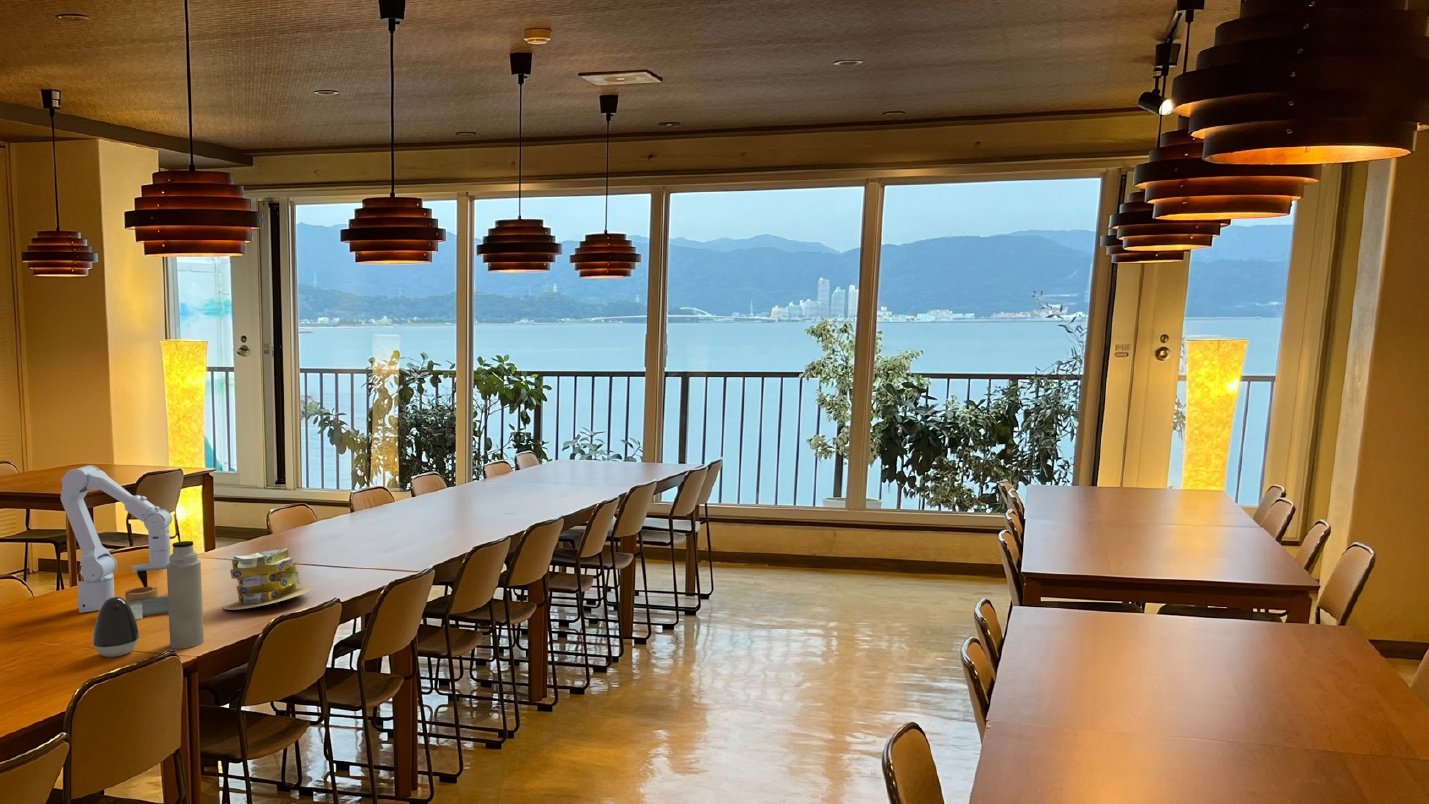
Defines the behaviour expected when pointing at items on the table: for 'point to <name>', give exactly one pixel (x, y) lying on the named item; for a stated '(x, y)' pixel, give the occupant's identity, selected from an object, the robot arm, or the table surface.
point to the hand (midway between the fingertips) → (161, 592)
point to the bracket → (141, 593)
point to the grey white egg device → (115, 628)
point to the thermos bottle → (184, 597)
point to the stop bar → (149, 606)
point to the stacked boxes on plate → (265, 579)
